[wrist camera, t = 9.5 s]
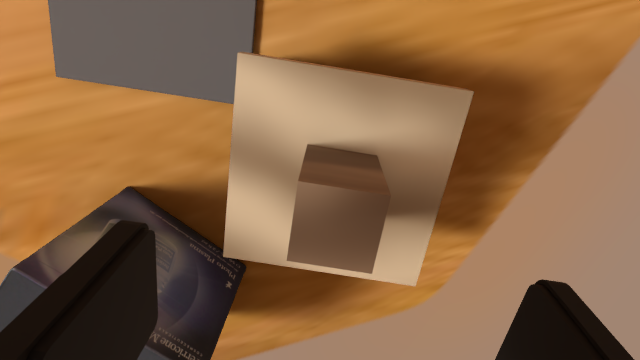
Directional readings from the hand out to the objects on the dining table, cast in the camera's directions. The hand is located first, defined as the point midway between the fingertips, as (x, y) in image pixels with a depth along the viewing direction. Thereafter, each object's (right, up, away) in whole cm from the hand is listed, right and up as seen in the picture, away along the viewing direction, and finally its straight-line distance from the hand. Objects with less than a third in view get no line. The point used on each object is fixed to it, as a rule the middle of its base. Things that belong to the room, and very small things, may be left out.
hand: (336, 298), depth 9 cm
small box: (-12, -2, +19) cm, 22 cm away
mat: (-10, +14, +12) cm, 21 cm away
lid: (0, +3, +11) cm, 11 cm away
